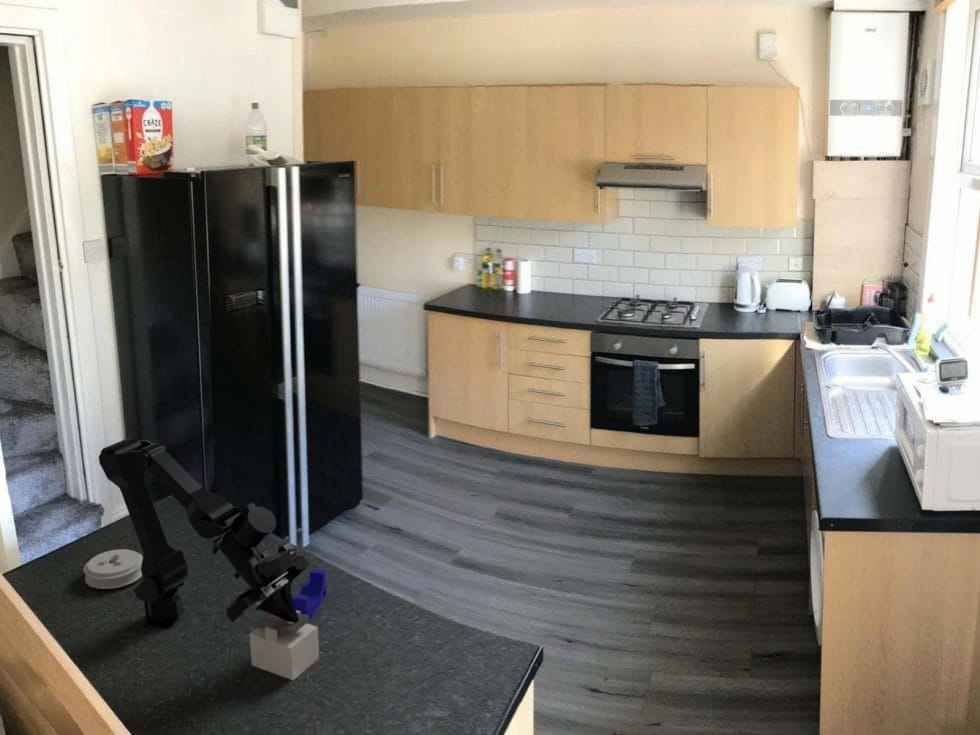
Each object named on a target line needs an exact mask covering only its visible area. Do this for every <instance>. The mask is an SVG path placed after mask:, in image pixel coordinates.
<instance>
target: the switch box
mask: <svg viewBox="0 0 980 735" xmlns="http://www.w3.org/2000/svg"><path fill="white" fill-rule="evenodd" d="M296 612H297V613H300V614H301V611H298V610H296ZM318 630H319V629H318V626H316V625H313V624H311V623H308V624H305V625H304V626H303V627H302V628H300V629H299V630H298V631H296V632H295V633H294V634H293V635H286V634H281V633H277V629H274V628H271V627H268V626H266V627H265V630H263V629H258V628H257V627H256V628H255V629H254V630H252V631H251V632H250V633H249V634H248V635H249V645H250V656H251V657H250V658H251V666H253V667H255V668H258V669H260V670H263V671H266V672H269V673H272V674H273V675H278V676H280V677H283V678H286V679H288V680H291V681H294V680H295V679H297V678H298V677H299V676H301V675H302V673H303V672H305V671H306V670H307V669H308V668H310V667H311V666H312V665H313V664H314V663H315V662H317V661H318V660H319V659H320V652H319V651H320V648H319V647H320V646H319V632H318Z"/></svg>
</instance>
